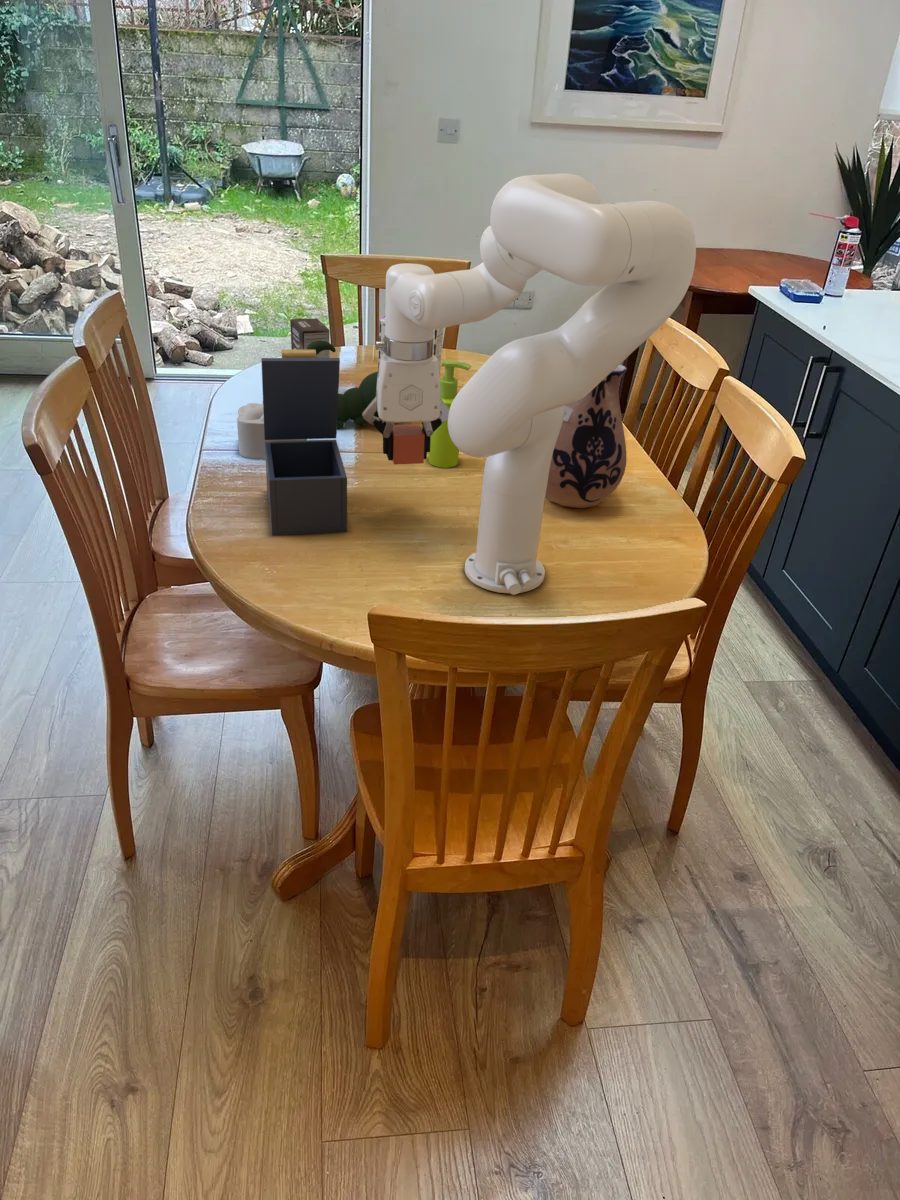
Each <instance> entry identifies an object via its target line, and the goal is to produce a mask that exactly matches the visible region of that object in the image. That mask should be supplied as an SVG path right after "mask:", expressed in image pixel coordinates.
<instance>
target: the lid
mask: <svg viewBox="0 0 900 1200" xmlns="http://www.w3.org/2000/svg"><path fill="white" fill-rule="evenodd" d="M280 351H281V352H280V353H281V355H280V356H281V357H260V361H261V384H262V385H261V387H262V403H263V414H264V438H265V440H289V439H307V440H333V439H337V435H338V434H337V432H338V431H337V430H338V428H337V412H338V394H339V391H340V390H339V389H340V388H339V387H340V367H341V366H340V364H341V359H340V357H330V358H316V350H291V349H281V350H280Z"/></svg>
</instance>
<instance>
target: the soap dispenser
mask: <svg viewBox="0 0 900 1200" xmlns="http://www.w3.org/2000/svg"><path fill="white" fill-rule="evenodd" d="M441 367H442V368H443V367H444V376H442V377H440V398H441V400H442V401H443V402H444V403H445V405H446V406H447V407H448V409H449V410H450V407H451V404H452V402H453V400H454V398H455V397H456V395H457V394H458V384H459V383H458V382H459V381H458V379H457V378H456V377H454V375H455V368H457V369H462V370H465V371H469V370H470V369H471V368H472V364H469V363H466V362H464V361H458V360H445V359H444V360H443V361H441ZM459 455H460V450H459V449H458V448H457V447H456V446H455V445H454V443H453V442H452V440H451V438H450V435H449V431H448V419H447V420H446V421H445V422H443V423H442V424H441V425H440V426H439V427H438V428H437V429H436V430H435V431H434V432H433V435H432V436H431V440H430V452H428V459H427V460H428V463H429V464H430V465H432V466H433V467H437V468H445V469H447V468H454V467H455V466H457V465H458V464H459Z"/></svg>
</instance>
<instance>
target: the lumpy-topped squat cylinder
mask: <svg viewBox="0 0 900 1200" xmlns="http://www.w3.org/2000/svg"><path fill="white" fill-rule="evenodd" d="M237 409H238V410H237V412H238V413H237V414H238V416H237V417H236V423H237V424H236V426H237V439H238V441H237V442H238V453H239V456H241V457H243V458H247V459H254V460H255V459H257V460H258V459H259V460H260V459H261V460H266V457H265V441H298V440H308V439H289V440H265V438H264V414H263V402H262V403H257V402H249V403H246V404H245V405H241V406H240V407H239V408H237Z"/></svg>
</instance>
